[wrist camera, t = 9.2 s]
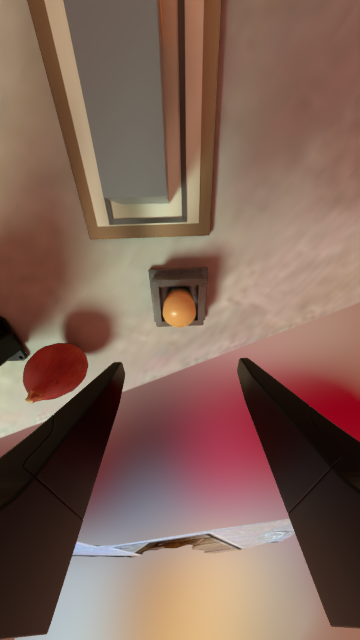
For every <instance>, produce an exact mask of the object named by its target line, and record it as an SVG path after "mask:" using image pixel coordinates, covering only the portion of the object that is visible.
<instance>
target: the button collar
mask: <svg viewBox="0 0 360 640" xmlns="http://www.w3.org/2000/svg"><path fill="white" fill-rule="evenodd" d="M207 270H208V268H207V267H203V268H173V269H149V278H150V287H151V295H152V303H153V312H154V320H155V322H156V325H157V327H163V326H171V325H170V324H168V323H167V322H166V321H165V319H164V317H163V307H164V301H165V297H166V295H167V294H168V293H169V292H170V291H171V290H174V289H178V288H181V289H185V290H187V291H188V292H190V293H191V295H192V296H193V299H194V304H195V308H196V316H195V319H194V320H193V322H192V323H190V324H189V325H187V326H193V325H203V320H205V311H206V291H207Z"/></svg>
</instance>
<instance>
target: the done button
mask: <svg viewBox="0 0 360 640" xmlns="http://www.w3.org/2000/svg"><path fill="white" fill-rule="evenodd" d="M195 316H196V308H195V304H194V299H193V296H192V295H191V293H190V292H188V291H187V290H185V289H181V288H178V289H174V290H171V291H170V292H169V293H168V294H167V295H166V297H165V301H164V307H163V317H164V319H165V321H166V322H167V323H168V324H170V325H171V326H174V327H185V326H187V325H189V324H190V323H192V322H193V320H194V319H195Z"/></svg>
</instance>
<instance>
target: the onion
mask: <svg viewBox="0 0 360 640" xmlns="http://www.w3.org/2000/svg"><path fill="white" fill-rule="evenodd" d="M87 368H88V361H87V357H86V355H85V354H84V352H83V351H82V350H81V349H80V348H79V347H78V346H75V345H72V344H67V343H57V344H53V345H49V346H45V347H43V348H41V349H40V350H38V351H37V352H36V353H35V354H34V355H33V356H32V357H31V358H30V359H29V360H28V362H27V363H26V365H25V368H24V373H23V383H24V386H25V389H26V391H27V392H28V397H27V398H26V399H25V400H26V401H27V402H29V403H34V402H36V401H41V400H50V399H55V398H58V397H60V396H62V395H65V394H67V393H69V392H71V391H73V390H74V389H75V388H76V387H77V386H78V385H79V384H80V383H81V382H82V381H83V379H84V378H85V376H86V372H87Z"/></svg>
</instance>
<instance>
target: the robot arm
mask: <svg viewBox="0 0 360 640" xmlns="http://www.w3.org/2000/svg"><path fill="white" fill-rule="evenodd" d="M27 357H28V356H27V354H26V353H25V351H24V349H23V348H22V346H21V345H20V343H19V341H18V340H17V338H16V337H15V335H14V333H13V332H12V330H11V328H10V327H9V325H8V324H7V322H6V320H5V319H4V318H3V317H0V366H1V365H3V364H4V363H5V362H6V361H19V360H25V359H26V358H27ZM237 371H238V376H239V380H240V384H241V387H242V392H243V395H244V399H245V402H246V404H247V407H248V410H249V413H250V415H251V418H252V421H253V423H254V426H255V428H256V431H257V434H258V436H259V439H260V441H261V444H262V447H263V449H264V452H265V454H266V457H267V460H268V463H269V465H270V468H271V470H272V473H273V476H274V478H275V481H276V484H277V486H278V489H279V491H280V494H281V497H282V499H283V502H284V505H285V507H286V510H287V512H288V513H289V514H288V515H289V518H290V521H291V523H292V526H293V529H294V531H295V534H296V536H297V539H298V541H299V544H300V547H301V550H302V552H303V555H304V557H305V560H306V563H307V565H308V568H309V571H310V573H311V576H312V578H313V581H314V584H315V586H316V589H317V592H318V594H319V597H320V599H321V602H322V605H323V607H324V610H325V613H326V615H327V617H328V620H329V622H330V625H331V626H332V627H345V628H346V627H347V628H360V442H359V441H358V440H356V439H355V438H353V437H352V436H350V435H349V434H348V433H346V432H345V431H343V430H342V429H340V428H339V427H338V426H336V425H335V424H333V423H332V422H331V421H329V420H328V419H327V418H325V417H324V416H322V415H321V414H320V413H318V412H317V411H316V410H315V409H313V408H312V407H310V406H309V405H308V404H307V403H306V402H304V401H303V400H302V399H300V398H299V397H298V396H296V395H295V394H294V393H293V392H291V391H290V390H289V389H287V388H286V387H285V386H284V385H282V384H281V383H279V382H278V381H277V380H276V379H274V378H273V377H272V376H271V375H269V374H268V373H267V372H265V371H264V370H263V369H261V368H260V367H259V366H258V365H256V364H255V363H254V362H252V361H251V360H250V359H248V358H240V359H239V364H238V370H237ZM124 379H125V371H124V368H123V364H122V363H121V362H114V363H112V364H111V365H110V366H109V367H108V368H107V369H106V370H104V371H103V372H102V373H101V374H100V375H99V376H97V377H96V378H95V379H94V380H93V381H92V382H91V383H89V384H88V385H87V386H86V387H85V388H84V389H82V390H81V391H80V392H79V393H78V394H77V395H76V396H74V397H73V398H72V399H71V400H70V401H69V402H67V403H66V404H65V405H64V406H63V407H62V408H61V409H59V410H58V411H57V412H56V413H55V414H54V415H52V416H51V417H50V418H49V419H48V420H47V421H45V422H44V423H43V424H42V425H41V426H39V427H38V428H37V429H36V430H35V431H34V432H32V433H31V434H30V435H29V436H27V437H26V438H25V439H24V440H22V441H21V442H20V443H19V444H17V445H16V446H15V447H13V448H12V449H11V450H9V451H8V452H7V453H6V454H4V455H3V456H2V457H0V640H14V638H17V637H26V636H35V635H44V634H47V632H48V630H49V626H50V624H51V621H52V617H53V615H54V611H55V608H56V605H57V602H58V599H59V595H60V592H61V589H62V586H63V583H64V579H65V576H66V573H67V570H68V567H69V564H70V560H71V557H72V554H73V551H74V548H75V544H76V541H77V538H78V535H79V531H80V529H81V525H82V522H83V520H82V519H83V518H84V515H85V512H86V509H87V506H88V503H89V500H90V496H91V493H92V490H93V487H94V484H95V480H96V477H97V474H98V471H99V468H100V464H101V461H102V458H103V455H104V452H105V449H106V445H107V442H108V439H109V436H110V433H111V430H112V426H113V423H114V420H115V417H116V414H117V410H118V407H119V403H120V399H121V394H122V389H123V384H124Z"/></svg>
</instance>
